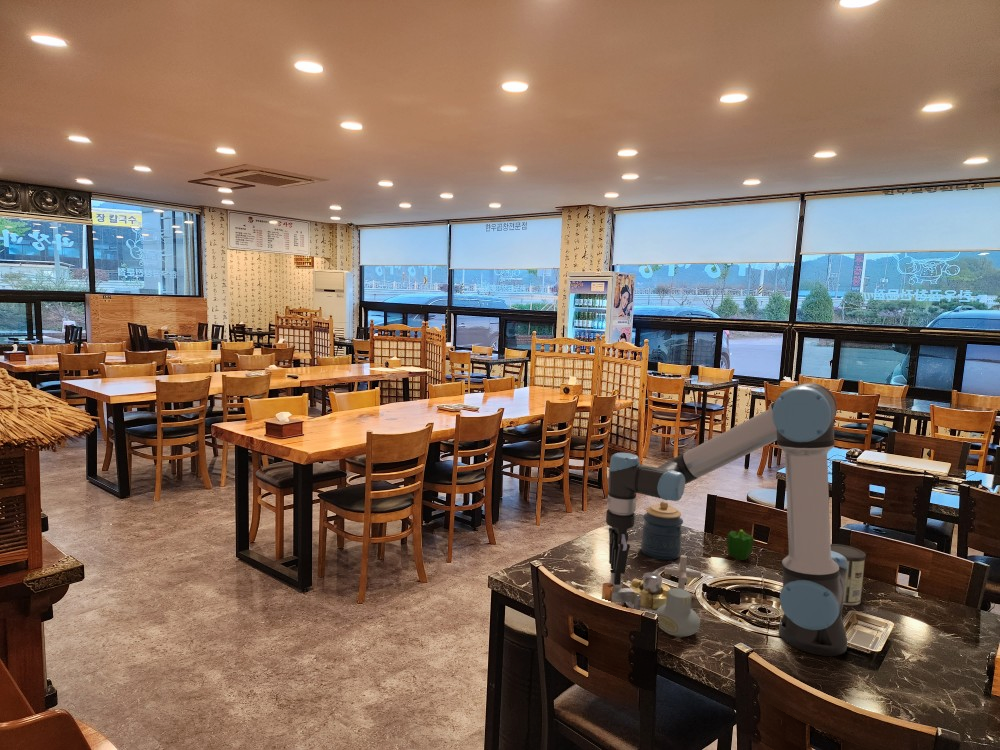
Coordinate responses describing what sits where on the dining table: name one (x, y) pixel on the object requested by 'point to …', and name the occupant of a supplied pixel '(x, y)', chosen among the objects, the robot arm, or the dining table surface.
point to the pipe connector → (682, 572)
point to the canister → (662, 532)
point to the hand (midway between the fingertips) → (615, 593)
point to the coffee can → (852, 572)
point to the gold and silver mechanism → (650, 583)
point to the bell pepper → (739, 544)
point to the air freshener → (678, 614)
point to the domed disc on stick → (635, 588)
